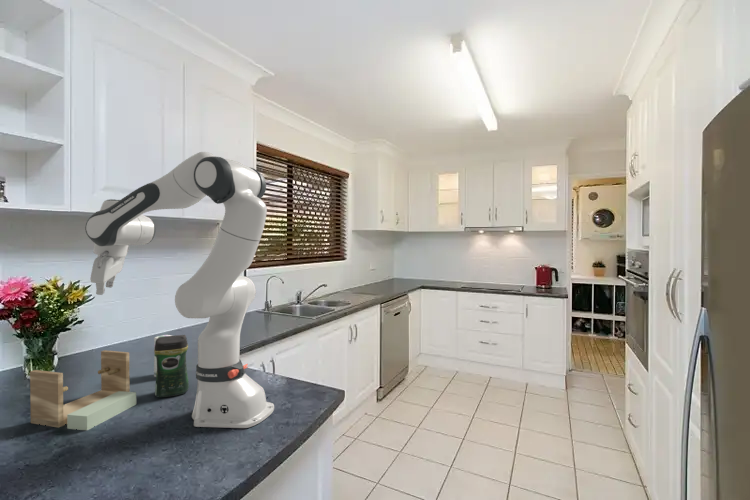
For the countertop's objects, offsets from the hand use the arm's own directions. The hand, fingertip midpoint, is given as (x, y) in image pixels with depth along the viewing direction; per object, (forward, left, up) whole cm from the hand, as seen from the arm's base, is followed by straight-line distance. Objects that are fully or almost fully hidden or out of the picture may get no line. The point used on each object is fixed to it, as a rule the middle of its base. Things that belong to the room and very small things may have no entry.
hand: (104, 290), depth 120 cm
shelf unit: (-5, +11, -33) cm, 36 cm away
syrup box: (-6, -18, -34) cm, 39 cm away
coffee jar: (-21, -5, -34) cm, 40 cm away
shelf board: (-15, +13, -34) cm, 39 cm away
